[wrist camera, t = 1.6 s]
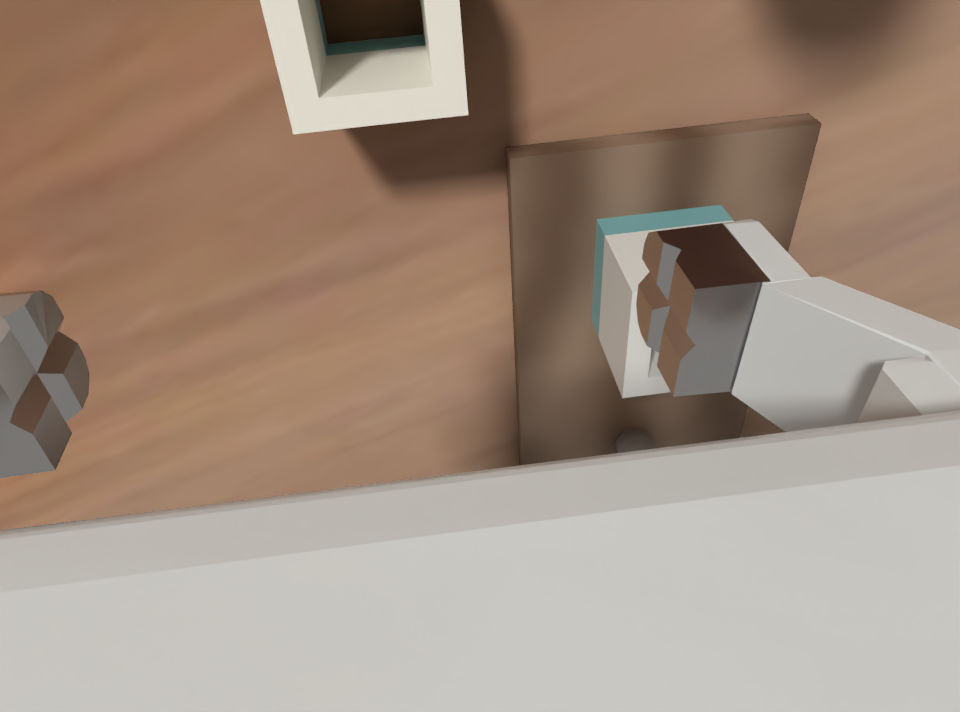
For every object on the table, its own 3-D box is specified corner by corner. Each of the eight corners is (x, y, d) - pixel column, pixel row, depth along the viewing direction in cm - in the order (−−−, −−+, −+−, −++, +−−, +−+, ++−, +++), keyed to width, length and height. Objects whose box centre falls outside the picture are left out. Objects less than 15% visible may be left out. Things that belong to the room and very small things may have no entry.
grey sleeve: (720, 204, 33) (776, 274, 28) (702, 306, 37) (748, 381, 32) (596, 219, 33) (632, 292, 28) (591, 319, 36) (622, 398, 32)
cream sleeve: (438, -117, 24) (452, -91, 20) (453, 59, 28) (468, 115, 24) (267, -101, 24) (242, -70, 20) (306, 75, 28) (293, 134, 24)
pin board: (808, 113, 32) (891, 179, 27) (718, 478, 49) (758, 560, 43) (506, 147, 31) (531, 221, 26) (521, 504, 48) (538, 591, 43)
